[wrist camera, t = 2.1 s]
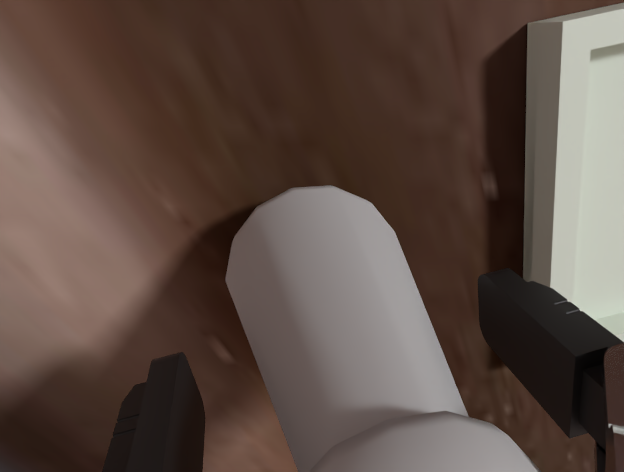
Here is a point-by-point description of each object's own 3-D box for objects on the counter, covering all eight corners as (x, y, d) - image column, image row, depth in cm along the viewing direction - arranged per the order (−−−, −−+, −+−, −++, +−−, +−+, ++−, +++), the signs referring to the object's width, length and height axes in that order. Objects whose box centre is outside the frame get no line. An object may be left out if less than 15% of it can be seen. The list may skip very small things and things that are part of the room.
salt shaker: (355, 314, 19) (564, 760, 7) (216, 300, 18) (198, 823, 6) (394, 180, 17) (775, 506, 5) (240, 153, 16) (288, 513, 4)
